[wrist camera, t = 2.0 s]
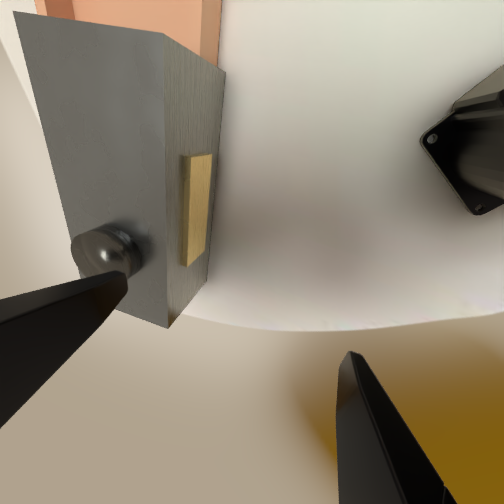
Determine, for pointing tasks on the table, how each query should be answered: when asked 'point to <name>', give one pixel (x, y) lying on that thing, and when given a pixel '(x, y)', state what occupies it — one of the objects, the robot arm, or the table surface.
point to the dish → (150, 18)
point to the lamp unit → (130, 153)
